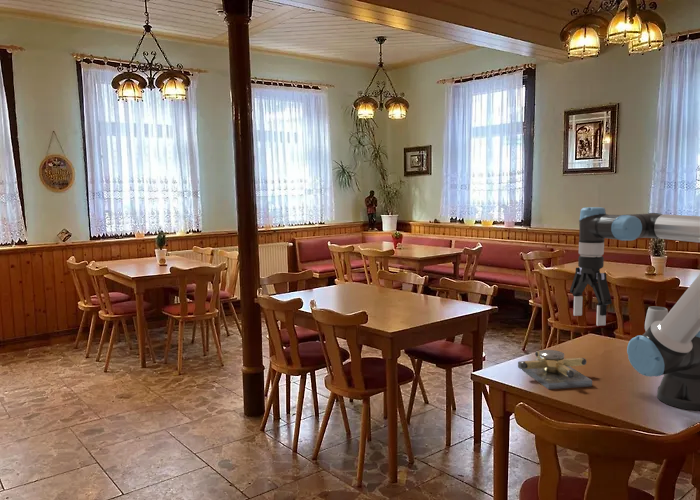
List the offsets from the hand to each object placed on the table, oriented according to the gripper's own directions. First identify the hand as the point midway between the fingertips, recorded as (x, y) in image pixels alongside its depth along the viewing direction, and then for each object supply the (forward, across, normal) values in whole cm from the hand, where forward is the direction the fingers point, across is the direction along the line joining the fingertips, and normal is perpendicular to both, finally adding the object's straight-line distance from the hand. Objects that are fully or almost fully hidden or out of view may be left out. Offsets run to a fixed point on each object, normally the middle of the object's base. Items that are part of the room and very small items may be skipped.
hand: (588, 320), depth 187 cm
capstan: (+18, +6, +8) cm, 21 cm away
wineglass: (+21, +10, -32) cm, 39 cm away
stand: (+20, +6, +8) cm, 23 cm away
